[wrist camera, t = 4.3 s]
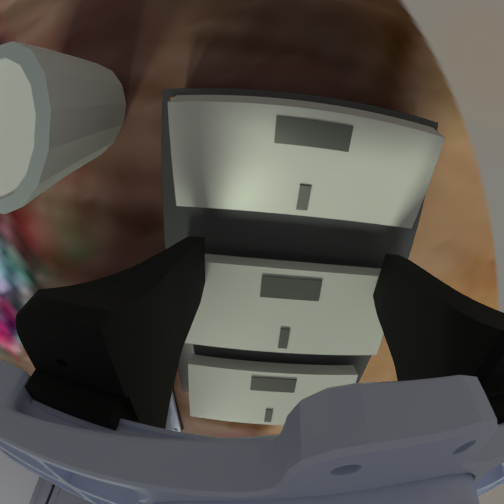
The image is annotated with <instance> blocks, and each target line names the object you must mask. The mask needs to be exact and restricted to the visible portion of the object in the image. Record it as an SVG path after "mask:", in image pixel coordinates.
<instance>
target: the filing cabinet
mask: <svg viewBox="0 0 504 504" xmlns="http://www.w3.org/2000/svg"><path fill="white" fill-rule="evenodd" d="M176 95H238V96H257V97H271V98H282V99H292V100H301V101H309V102H316V103H323V104H330V105H336V106H342V107H348V108H353V109H359V110H364V111H369V112H374V113H378V114H383V115H387V116H391V117H396V118H400V119H404V120H407V121H411V122H415V123H419V124H422V125H426V126H429V127H432V128H434V129H435V130H436V131H437V127H438V123H437V122H433V121H430V120H427V119H423V118H420V117H416V116H413V115H409V114H405V113H402V112H398V111H394V110H390V109H385V108H381V107H377V106H372V105H367V104H362V103H357V102H352V101H347V100H341V99H335V98H329V97H322V96H315V95H307V94H299V93H290V92H280V91H268V90H254V89H232V88H182V89H163V101H162V194H163V218H164V236H165V250H166V249H167V248H169V247H171V246H172V245H174V244H176V243H177V242H179V241H181V240H182V239H184V238H186V237H188V236H194V237H205V254H215V255H226V256H237V257H249V258H260V259H272V260H284V261H296V262H307V263H319V264H331V265H344V266H356V267H368V268H382V264H383V261H384V257H385V254H394V255H400V256H402V257H404V258H406V259H408V257H409V254H410V251H411V247H412V244H413V240H414V237H415V233H416V230H417V226H418V222H419V219H420V215H421V211H422V207H423V202H424V199H423V202H422V204H421V207H420V210H419V212H418V214H417V217H416V219H415V222H414V224H413V226H412V229H411V228H403V227H396V226H388V225H380V224H372V223H364V222H356V221H347V220H338V219H329V218H320V217H310V216H300V215H290V214H279V213H267V212H256V211H243V210H230V209H216V208H202V207H186V206H176V197H175V188H174V179H173V168H172V158H171V146H170V133H169V119H168V102H169V101H170V100H171V99H172V98H174V97H175V96H176ZM424 198H425V197H424ZM192 354H194V355H201V356H209V357H217V358H226V359H236V360H246V361H258V362H271V363H287V364H308V365H354V367H355V369H356V371H357V374H358V377H357V380H356V383H358V382H359V380H360V378H361V376H362V374H363V372H364V370H365V368H366V366H367V364H368V361H369V359H370V357H371V355H318V354H295V353H279V352H265V351H252V350H241V349H231V348H222V347H213V346H205V345H197V344H190V343H184V346H183V349H182V352H181V355H180V359H179V363H178V365H179V371H180V377H181V383H182V389H183V391H189V380H188V363H189V360H190V358H191V355H192Z"/></svg>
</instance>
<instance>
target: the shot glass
mask: <svg viewBox="0 0 504 504" xmlns="http://www.w3.org/2000/svg"><path fill="white" fill-rule="evenodd" d="M125 109H126V100H125V95H124V90H123V85H122V84H121V82H120V81H119V79H118V78H117V77H116V75H115V74H114V72H113V71H112V70H110V69H108V68H106V67H104V66H102V65H100V64H97V63H94V62H91V61H88V60H85V59H81V58H78V57H75V56H71V55H68V54H64V53H60V52H57V51H53V50H49V49H45V48H41V47H36V46H32V45H28V44H23V43H18V42H13V41H12V42H9V43H6V44H2V45H0V213H2V214H7V213H9V212H11V211H14V210H16V209H18V208H21V207H23V206H24V205H26V204H27V203H28V202H30V201H31V200H32V199H34V198H35V197H36V196H38V195H39V194H41V193H42V192H43V191H45V190H46V189H48V188H49V187H51V186H52V185H54V184H55V183H56V182H58V181H59V180H61V179H62V178H64V177H66V176H67V175H69V174H70V173H72V172H73V171H75V170H76V169H78V168H80V167H81V166H83V165H84V164H86V163H88V162H89V161H91V160H93V159H94V158H96V157H98V156H100V155H101V154H102V153H103V152H105V151H106V150H107V149H108V148H109V147H110V146H111V145H112V144H113V143H114V142H115V140H116V138H117V136H118V134H119V132H120V130H121V128H122V126H123V124H124V117H125Z"/></svg>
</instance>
